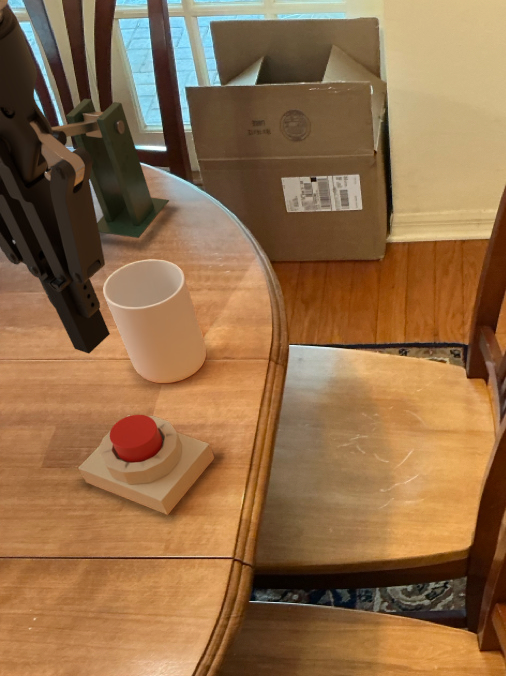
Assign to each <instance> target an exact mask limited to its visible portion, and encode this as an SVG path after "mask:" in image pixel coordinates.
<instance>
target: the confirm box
mask: <svg viewBox="0 0 506 676" xmlns="http://www.w3.org/2000/svg"><path fill="white" fill-rule="evenodd" d="M128 416H131V414H128V415H127V416H126V417H128ZM147 416H148V417H150V418H152V419H153V420H154V421H155V423H156V425H157V427H158V430H159V432H160V435H161V437H162V441H163V442H162V447H161V449H160V451H159V452H158V453H157V454H156V455H155V456H154V457H152V458H150V459H147V460H145V461H143V462H134V463H131V462H127V461H124V460H122V459H121V458H120V457H119V456H118V454H117V452H116V450H115V448H114V446H113V444H112V442H111V440H110V431H111V429H110V430H108V432H107V433H106V434H105V435H104V436H103V438H101V442H100V444H99V445H98V446H97V448H96V449H94V451H92V453H91V454H90V455H89V456H88V457H87V458H86V459H85V460H84V461H83V462H82V463H81V464H80V466H78V470H79V472H80V474H81V476H82V478H83V480H84V481H85V483H86V484H89V485H91V486H94V487H96V488H99V489H102V490H105V491H107V492H109V493H112V494H113V495H117V496H119V497H122V498H123V499H128V501H129V500H130V501H132V502H135V503H137V504H139V505H141V506H144V507H147V508H150V509H152V510H154V511H157V512H160V513H162V514H165V515H167V516H168V515H169V514H170V513H171V512H172V511H173V510H174V508H175V507H176V506H177V505H178V503H179V502H180V501H181V500H182V499H183V497H184V496H185V495H186V493H187V492H188V491H190V489H191V488H192V486H193V485H194V484H195V483H196V481H197V480H198V479H199V478H200V477H201V475H202V474H203V473H204V472H205V470H206V469H207V468H208V467H209V465H210V464H212V462H213V461H214V460H215V456H214V453H213V451H212V448H211V445H210V443H209V442H206V441H202V440H200V439H198V438H195V437H192V436H189V435H187V434H183V433H181V432H178V431H177V430H176V429H175V427H174V426H173V425H172V423H171V421H168V420H166V419H164V418H161V417H158V416H155V415H147Z"/></svg>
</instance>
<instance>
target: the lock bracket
mask: <svg viewBox="0 0 506 676" xmlns="http://www.w3.org/2000/svg"><path fill="white" fill-rule="evenodd" d="M96 111H97V110H96V108H95V105H94V102H93V100H92V99H90V98H83V99H82V101H80V102H79V104H77V105H76V106H75V107H74V108H72V110H70V112H68V113H67V114H65V117H66V120H67V122H68V124H73V123H78V122H84V118H83V114H84V113H90V112H96ZM102 112H103V113H102V114H101V115H100V116H99V117H98V118H97V123H98V126H99V129H100V131H101V134H102V137H103V138H99V137H90V136H86V133H84V134H79V135H74V136H73V138H74V141H75V144H76V146H77V148H79V147H82V148H84V149H85V150H87V152H88V153H89V154H90V155H91V157H92V162H93V163H92V169H91V174H90V179H89V182H90V185H91V186H92V189H93V192H94V194H95V197H96V200H97V202H98V205H99V207H100V210H101V213H102V217H100V219H99V220H97V224H98V229H99V234H109V235H113V236H114V235H115V236H122V237H127V238H128V237H129V238H135V239H139V238H140V237H141V236H142V235H143V233H144V232H145V231H146V229H148V228H149V226H150V225H151V224H152V222H153V221H154V220H155V219H156V217H157V216H158V215H159V214H160V213H161V211H162V210H163V209H164V208H165V207H166V205H167V204H168V203H169V202H170V200H169V199H167V198H159V197H158V198H157V197H152V195H151V192H150V190H149V187H148V183H147V180H146V177H145V174H144V170H143V166H142V164H141V161H140V158H139V155H138V152H137V148H136V144H135V142H134V140H133V135H132V132H131V130H130V126H129V123H128V120H127V117H126V113H125V111H124V106H123V104H122V102H118V101H114V102H113V103H111V105H109V106H108V107H107V108H106V109H105V110H103V111H102Z"/></svg>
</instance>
